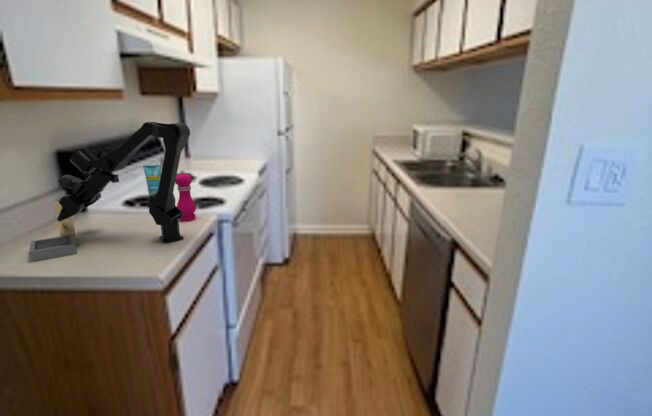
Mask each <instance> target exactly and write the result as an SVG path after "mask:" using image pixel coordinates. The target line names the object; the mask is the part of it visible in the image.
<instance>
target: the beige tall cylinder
mask: <svg viewBox="0 0 652 416" xmlns="http://www.w3.org/2000/svg"><path fill="white" fill-rule="evenodd" d="M53 206H54V212H55V216H56V221H57V227H58V231H59V232H58V233H59V237H60V236H66V235H73V234H74V238H75V240H76V239H77V234H76V228H75V227H76V226H75V224H74V223H75V221H74V217H73V216H71V217H69V218H67V219H64V220H62V221H58V220H57V218H58V216H59V214H60V211H61V209H62V206H61V205H60V203H59V202H58V201H54V202H53Z"/></svg>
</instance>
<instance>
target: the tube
mask: <svg viewBox="0 0 652 416" xmlns="http://www.w3.org/2000/svg"><path fill="white" fill-rule="evenodd" d="M142 168H143V172H144V176H145V182H146V185H147V186H146V187H147V190H148V197H149V198H150V196H151V195H153V194H156V193H157V192H158V188H159V182H160V177H161V172H162V164H151V165H150V164H149V165H146V164H145V165H144V164H143V165H142Z"/></svg>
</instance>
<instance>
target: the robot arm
mask: <svg viewBox="0 0 652 416" xmlns="http://www.w3.org/2000/svg"><path fill="white" fill-rule="evenodd" d="M190 136H191V129H190V128H189V126H188V125H187V124H185V123H184V122H174V123H162V122H156V121H146V122H144V123H143V124H142V125H141V126H140V127H139V128H138V129H137V130H136V131H135V132H133V134H132V135H130V136H129V137H128V138H127V139H126V140H124V142H123V143H122V144H120V146H118V147H116V148H114V149H113V150H110V151H107V153H105V154H103V155H101V156H100V157H99V158H98V157H97V156H96V155H94V153H93V152H92V151H91V150H90V149H89V148H88V147H82V148H80V150H78V151H77V152H75V153H73V154H72V155H71V156H70V157H69V161H70V163H71V164H72V165H74V166H75V167H76V168H77V169H78V170H79V171H80V172H81V173H83V174H90V175H88V177H87V178H86V179H84V180H83V179H81V178H79V177H76V176H73V175H71V174H64V175H62V176H61V177H60V179H58V180H57V182H58V183H59V184H58V186H59V187H60V188H66V189H68V190H71V193H72V194H66V195H64V196H62V197H60V199H59V200H58V201H57V202H59V203H60V205H61V206H62V209H61V211H60V214H59V216H58V218H57V217H56V221H57V220H58V221H62V220H64V219H67V218H69V217H71V216H72V217H73V216H75V215H77V214H78V213H81V211H83V209H86V208H88V207H89V206H92V205H93V204H95V203H96V202H97V201H99V200H100V199H101V198H102V195H101V194H102V192H103V191H104V190H105V187H106V186H108V185H109V183H110V182H111V183H112V184H115V183H119V182H120V180H119V174H118V173H117V174H114V172H116V171H120V170H123V169H125V168H126V166H127V165H128V164H129V163H130V160H131V157H132V156H133V155H134V154H135V153H136V152H138V150H139V149H141V148H142V147H143V146H144V145H146V143H148V142H149V141H150V140H151V139H152V138H153V137H157V138H162V143H163V147H164V149H165V151H164V156H163V161H162V165H161V177H160V182H159V188H158V192H157V193H156V194H153V195H151V196H150V198H149V199H148V201H149V202H148V205H147V208H149V209H148V213H149V214H150V216H151V217H152V219H153V221H154V223H155V224H156V225H157V226H160V230H161V235H159V239H160V240H161V242H162V243H171V242H176V241H180V240H184V237H183V236H182V235H181V230H180V220H179V219H180V218H182V215H183V212H182V211H181V210H179V209H178V208H177V205H176V197H175V195H174V190H175V186H176V185H175V184H176V182H175V180H176V176H177V175H178V169H179V165H180V159H181V154H182V152H183V150H184V148H185V147H186V146H187V143H188V140H189V139H190ZM74 195H75V196H76V197H75V196H74Z"/></svg>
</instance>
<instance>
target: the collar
mask: <svg viewBox="0 0 652 416" xmlns="http://www.w3.org/2000/svg"><path fill="white" fill-rule="evenodd" d="M28 254H29V256H30V261H31V262H30V263H33V262H32V261H34V262H39V260H40V261H43V260H45V261H46V260H49V259H50V258H51V259H55V258H60V257H66V256H71V255H77V254H78V250H77V243H76V239H75V238H74V234H73V235H66V236H60V235H59V236H56V237H55V236H54V237H49V238H42V239H36V240H31V241H30V243H29V252H28Z"/></svg>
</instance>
